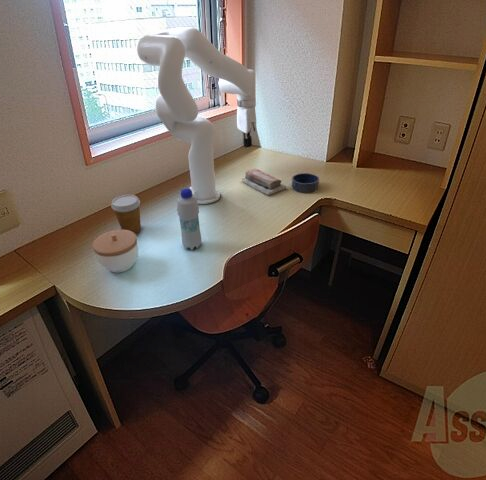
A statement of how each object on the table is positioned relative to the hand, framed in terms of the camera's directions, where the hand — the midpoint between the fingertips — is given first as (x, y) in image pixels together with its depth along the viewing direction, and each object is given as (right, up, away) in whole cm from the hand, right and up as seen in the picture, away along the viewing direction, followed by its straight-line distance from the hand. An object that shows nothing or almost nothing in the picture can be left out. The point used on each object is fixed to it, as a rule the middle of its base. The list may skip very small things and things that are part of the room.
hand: (247, 146), depth 156 cm
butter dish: (+6, -18, -5) cm, 20 cm away
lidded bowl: (-42, -49, -48) cm, 80 cm away
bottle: (-21, -43, -41) cm, 63 cm away
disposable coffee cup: (-43, -38, -31) cm, 65 cm away
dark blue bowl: (+23, -19, -9) cm, 31 cm away
